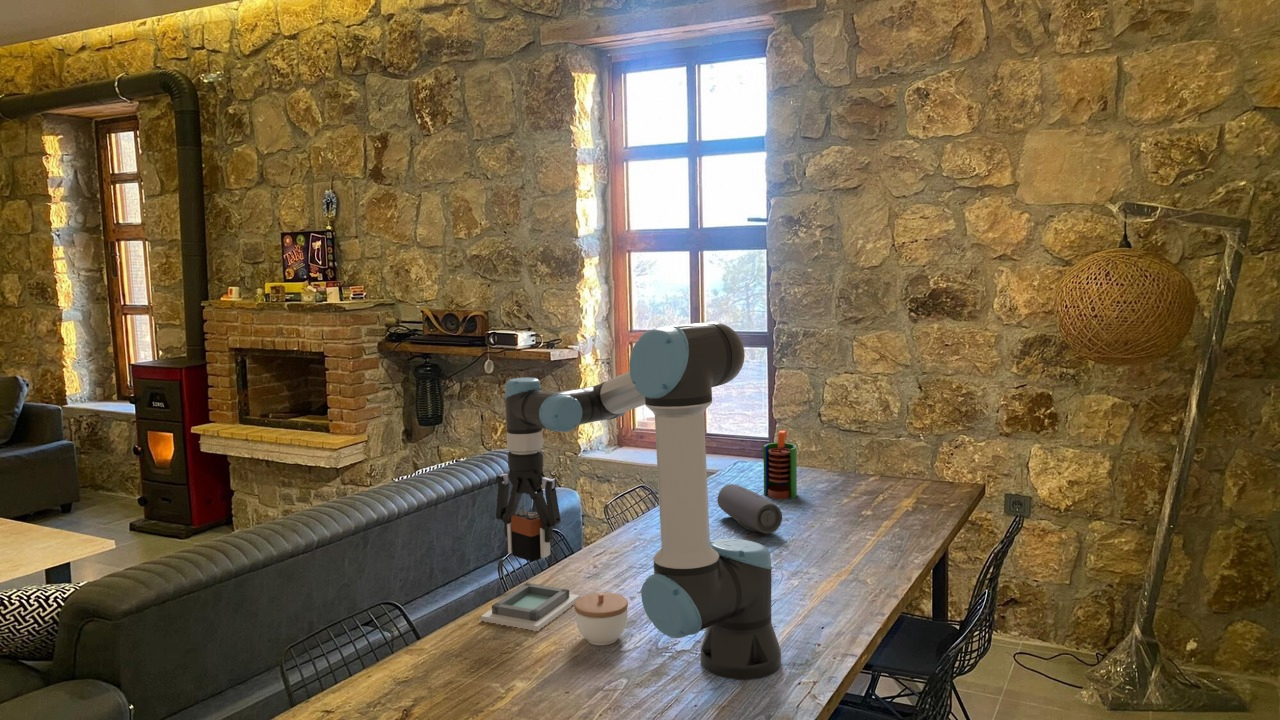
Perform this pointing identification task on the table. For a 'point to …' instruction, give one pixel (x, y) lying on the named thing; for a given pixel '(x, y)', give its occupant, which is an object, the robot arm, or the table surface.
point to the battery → (526, 535)
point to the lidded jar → (601, 617)
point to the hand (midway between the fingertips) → (529, 553)
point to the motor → (780, 468)
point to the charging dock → (530, 607)
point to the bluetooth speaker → (749, 509)
